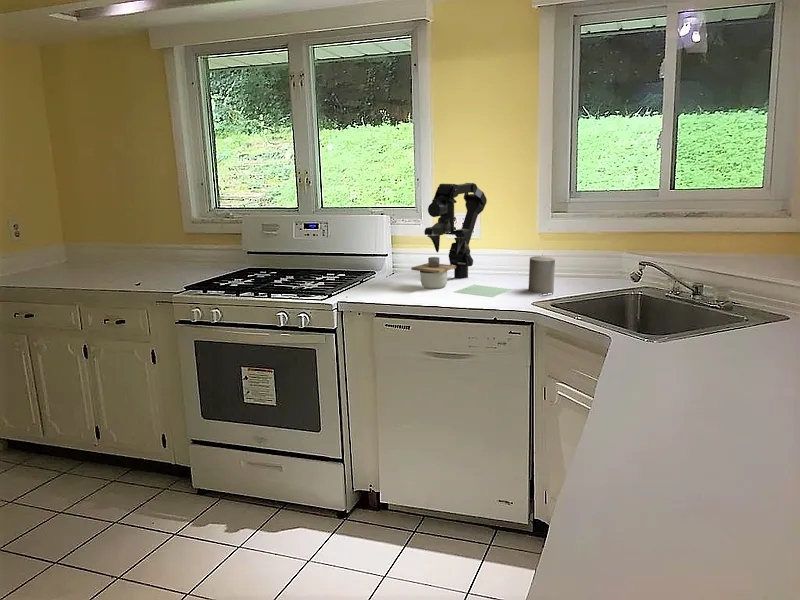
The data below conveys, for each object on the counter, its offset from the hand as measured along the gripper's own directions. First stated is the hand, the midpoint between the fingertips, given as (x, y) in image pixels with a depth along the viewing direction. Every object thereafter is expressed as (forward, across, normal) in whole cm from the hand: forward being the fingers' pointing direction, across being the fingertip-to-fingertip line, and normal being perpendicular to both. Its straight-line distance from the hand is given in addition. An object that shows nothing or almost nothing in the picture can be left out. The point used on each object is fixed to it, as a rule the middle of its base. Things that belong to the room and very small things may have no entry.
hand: (447, 253), depth 283 cm
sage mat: (+13, +21, -8) cm, 26 cm away
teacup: (+13, 0, -10) cm, 17 cm away
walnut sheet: (+5, 0, -10) cm, 11 cm away
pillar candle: (+13, +40, +4) cm, 42 cm away
